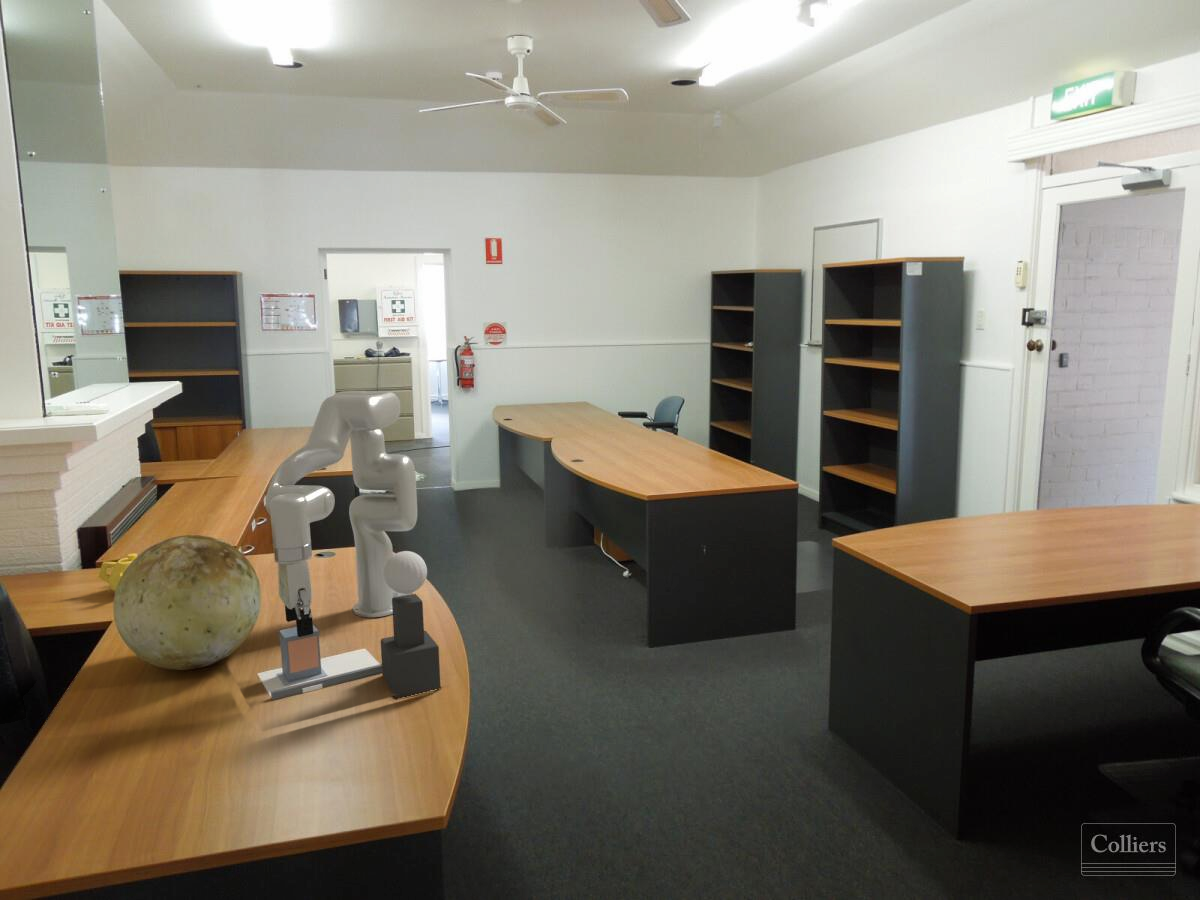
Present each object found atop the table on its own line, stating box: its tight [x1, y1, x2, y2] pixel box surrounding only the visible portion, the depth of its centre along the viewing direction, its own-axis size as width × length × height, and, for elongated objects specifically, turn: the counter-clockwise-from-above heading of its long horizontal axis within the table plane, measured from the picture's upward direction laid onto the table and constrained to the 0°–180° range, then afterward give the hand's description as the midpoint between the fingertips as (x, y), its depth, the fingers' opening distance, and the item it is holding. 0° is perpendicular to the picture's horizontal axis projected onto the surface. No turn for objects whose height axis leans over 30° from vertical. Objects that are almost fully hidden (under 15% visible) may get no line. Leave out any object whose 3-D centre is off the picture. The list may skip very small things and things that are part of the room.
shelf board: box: [256, 647, 382, 701], centre depth 184 cm, size 24×15×3 cm, turn 123°
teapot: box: [98, 552, 141, 593], centre depth 241 cm, size 20×18×11 cm
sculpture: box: [380, 550, 441, 700], centre depth 178 cm, size 10×10×30 cm
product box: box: [278, 624, 322, 682], centre depth 182 cm, size 5×7×10 cm
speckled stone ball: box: [113, 534, 262, 671], centre depth 190 cm, size 30×30×30 cm
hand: (299, 627), depth 182 cm, fingers open, 9 cm apart
